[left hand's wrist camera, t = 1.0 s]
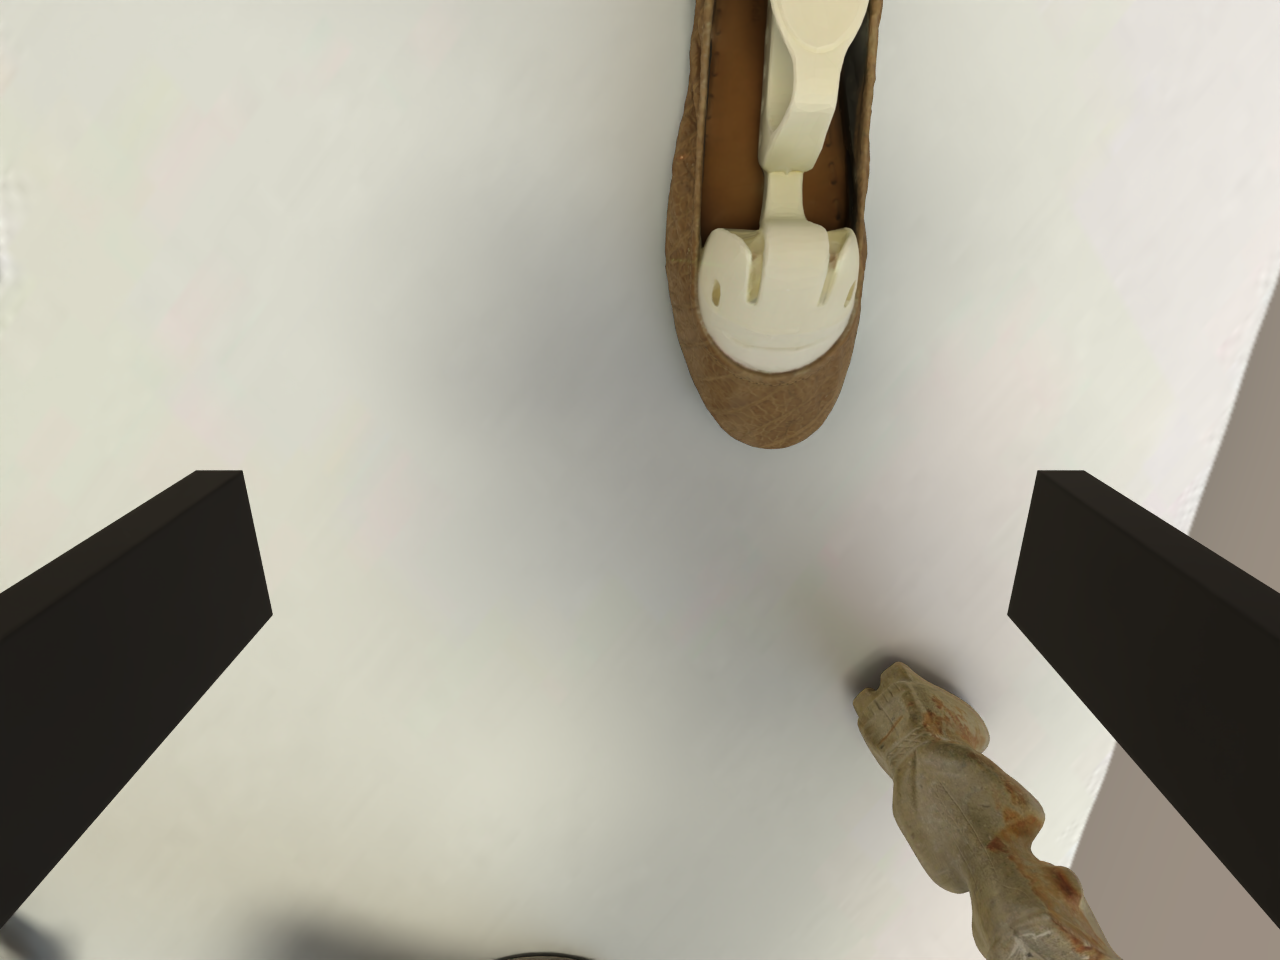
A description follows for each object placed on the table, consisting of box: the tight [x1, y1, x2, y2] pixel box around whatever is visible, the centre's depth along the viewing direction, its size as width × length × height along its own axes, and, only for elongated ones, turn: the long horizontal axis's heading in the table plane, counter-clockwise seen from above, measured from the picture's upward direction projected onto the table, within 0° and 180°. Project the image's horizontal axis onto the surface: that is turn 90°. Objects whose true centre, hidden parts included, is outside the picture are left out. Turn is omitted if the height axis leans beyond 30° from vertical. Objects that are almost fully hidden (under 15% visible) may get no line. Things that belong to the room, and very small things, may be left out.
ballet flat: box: [665, 0, 883, 449], centre depth 26 cm, size 8×24×9 cm, turn 178°
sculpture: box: [853, 662, 1123, 960], centre depth 33 cm, size 6×7×15 cm
